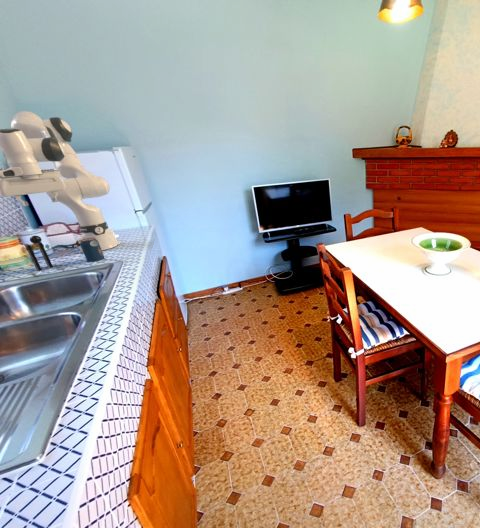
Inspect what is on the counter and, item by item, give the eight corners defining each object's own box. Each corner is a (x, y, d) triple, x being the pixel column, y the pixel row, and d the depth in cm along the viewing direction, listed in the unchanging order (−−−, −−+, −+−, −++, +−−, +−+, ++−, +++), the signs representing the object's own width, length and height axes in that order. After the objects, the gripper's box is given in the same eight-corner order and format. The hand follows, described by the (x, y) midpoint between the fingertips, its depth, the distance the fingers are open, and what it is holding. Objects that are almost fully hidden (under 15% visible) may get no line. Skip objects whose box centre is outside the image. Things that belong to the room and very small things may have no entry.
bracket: (62, 269, 143) (49, 242, 138) (37, 276, 136) (22, 248, 131) (54, 265, 149) (42, 239, 144) (29, 272, 142) (15, 244, 137)
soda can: (107, 260, 151) (99, 238, 147) (91, 265, 146) (81, 242, 141) (102, 258, 155) (93, 236, 150) (86, 263, 149) (76, 240, 145)
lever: (43, 240, 132) (39, 233, 132) (32, 243, 129) (28, 235, 129) (41, 250, 140) (37, 243, 140) (31, 252, 137) (27, 245, 137)
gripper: (56, 168, 135) (68, 199, 140) (-11, 173, 119) (6, 208, 124) (60, 168, 131) (73, 200, 136) (-8, 173, 115) (10, 208, 121)
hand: (41, 203), depth 130 cm, fingers open, 8 cm apart
